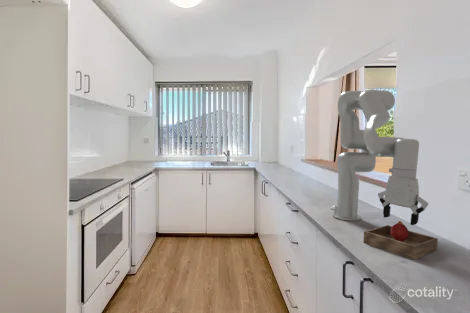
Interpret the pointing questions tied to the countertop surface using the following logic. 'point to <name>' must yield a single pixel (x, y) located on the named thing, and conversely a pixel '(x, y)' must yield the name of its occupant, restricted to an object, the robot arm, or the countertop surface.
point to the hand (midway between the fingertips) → (399, 220)
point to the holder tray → (409, 248)
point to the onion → (399, 232)
